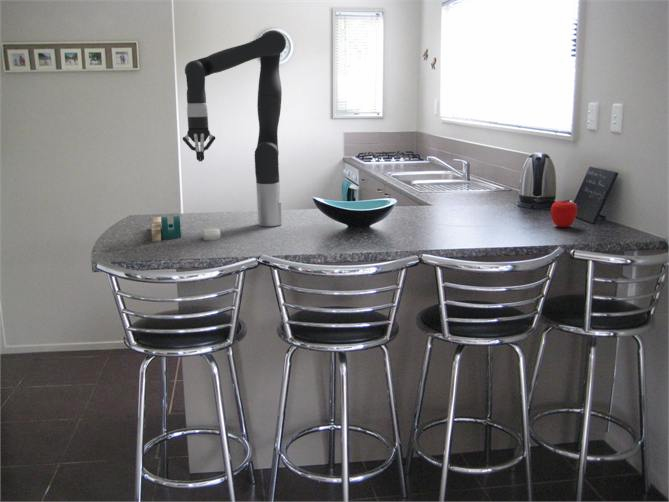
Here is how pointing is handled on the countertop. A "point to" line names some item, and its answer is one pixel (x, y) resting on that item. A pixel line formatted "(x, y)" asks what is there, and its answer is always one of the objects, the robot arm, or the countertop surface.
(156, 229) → the batten
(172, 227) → the bracket
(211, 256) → the countertop surface
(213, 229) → the rounded smooth part
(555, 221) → the apple
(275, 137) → the robot arm
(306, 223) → the countertop surface
